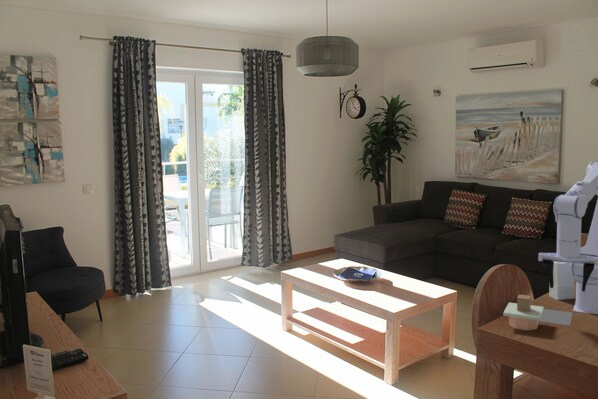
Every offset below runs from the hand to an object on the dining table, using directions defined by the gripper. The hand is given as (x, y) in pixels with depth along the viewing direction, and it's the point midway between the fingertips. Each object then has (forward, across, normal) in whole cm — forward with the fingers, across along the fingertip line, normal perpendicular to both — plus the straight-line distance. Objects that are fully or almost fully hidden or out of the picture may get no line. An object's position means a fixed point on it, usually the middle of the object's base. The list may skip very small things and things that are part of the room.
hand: (567, 288), depth 142 cm
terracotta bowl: (+10, -10, -7) cm, 16 cm away
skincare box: (+10, -3, +22) cm, 24 cm away
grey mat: (+10, -4, +3) cm, 11 cm away
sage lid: (+6, -10, -7) cm, 14 cm away
